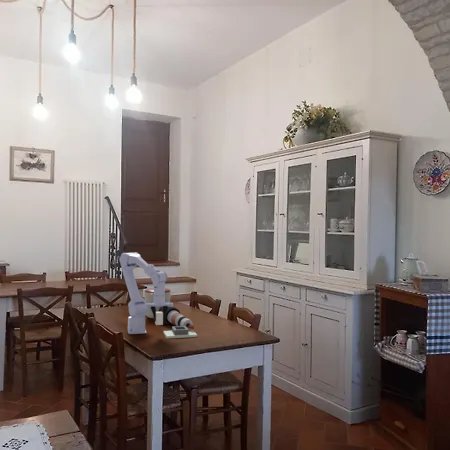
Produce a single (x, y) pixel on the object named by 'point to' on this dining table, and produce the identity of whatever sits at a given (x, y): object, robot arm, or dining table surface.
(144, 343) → the dining table surface
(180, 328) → the board
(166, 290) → the canister
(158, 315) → the plug
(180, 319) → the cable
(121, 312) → the dining table surface
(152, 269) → the robot arm
